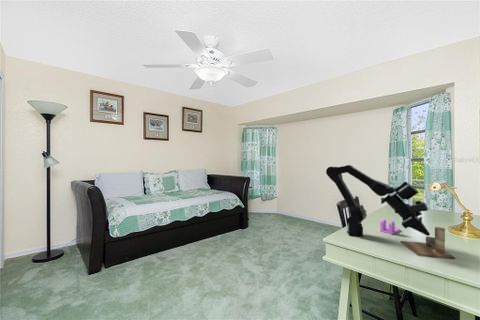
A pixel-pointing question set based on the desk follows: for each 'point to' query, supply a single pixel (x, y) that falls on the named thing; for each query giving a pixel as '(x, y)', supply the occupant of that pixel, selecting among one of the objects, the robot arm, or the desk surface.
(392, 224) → the bracket
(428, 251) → the brown board
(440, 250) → the crank handle
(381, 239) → the desk surface
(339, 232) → the desk surface
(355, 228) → the robot arm
